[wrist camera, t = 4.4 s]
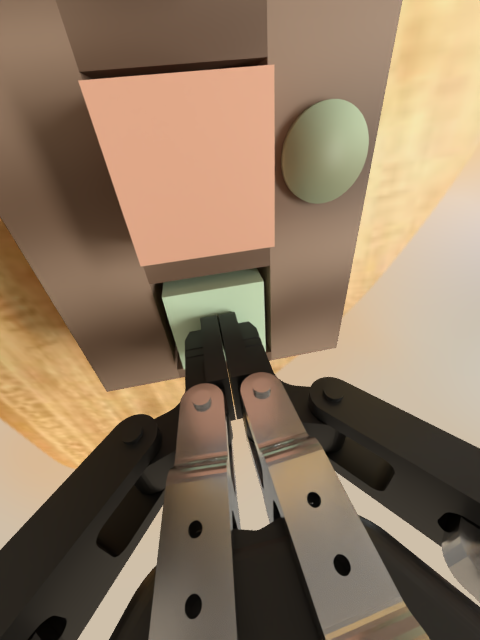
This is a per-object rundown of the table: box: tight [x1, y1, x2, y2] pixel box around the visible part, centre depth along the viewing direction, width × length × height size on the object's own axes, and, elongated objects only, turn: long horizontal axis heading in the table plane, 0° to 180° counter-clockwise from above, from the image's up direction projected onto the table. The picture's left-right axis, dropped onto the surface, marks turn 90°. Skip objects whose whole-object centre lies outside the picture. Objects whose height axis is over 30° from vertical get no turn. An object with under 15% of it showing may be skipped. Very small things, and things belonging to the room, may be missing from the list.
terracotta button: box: [78, 65, 275, 266], centre depth 8 cm, size 4×4×4 cm
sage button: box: [162, 268, 266, 369], centre depth 13 cm, size 4×4×4 cm
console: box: [0, 0, 402, 392], centre depth 10 cm, size 18×12×5 cm, turn 5°
